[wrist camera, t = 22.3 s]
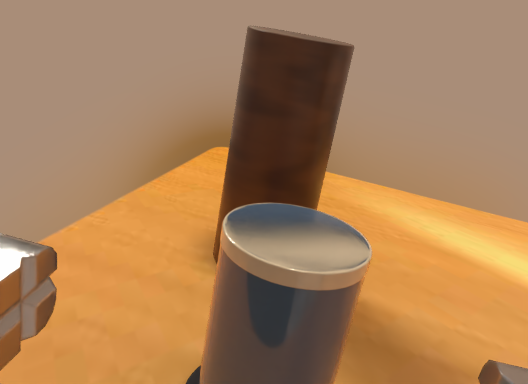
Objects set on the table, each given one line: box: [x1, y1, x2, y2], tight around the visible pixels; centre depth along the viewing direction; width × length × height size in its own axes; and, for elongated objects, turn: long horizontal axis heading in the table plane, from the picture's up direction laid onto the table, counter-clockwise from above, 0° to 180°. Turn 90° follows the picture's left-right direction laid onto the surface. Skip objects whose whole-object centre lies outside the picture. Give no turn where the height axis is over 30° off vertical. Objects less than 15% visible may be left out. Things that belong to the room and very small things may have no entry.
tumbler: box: [198, 203, 372, 384], centre depth 23 cm, size 7×7×10 cm
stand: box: [213, 26, 354, 262], centre depth 37 cm, size 8×8×18 cm
